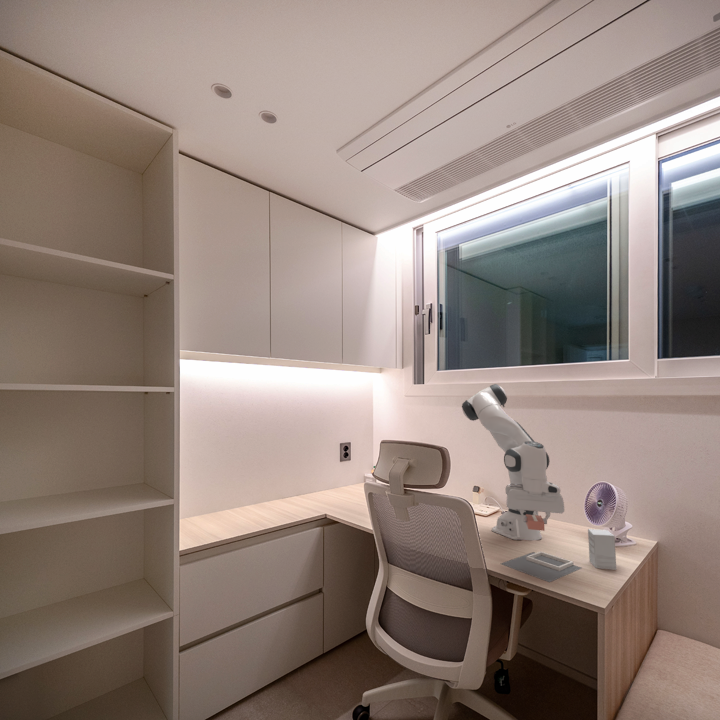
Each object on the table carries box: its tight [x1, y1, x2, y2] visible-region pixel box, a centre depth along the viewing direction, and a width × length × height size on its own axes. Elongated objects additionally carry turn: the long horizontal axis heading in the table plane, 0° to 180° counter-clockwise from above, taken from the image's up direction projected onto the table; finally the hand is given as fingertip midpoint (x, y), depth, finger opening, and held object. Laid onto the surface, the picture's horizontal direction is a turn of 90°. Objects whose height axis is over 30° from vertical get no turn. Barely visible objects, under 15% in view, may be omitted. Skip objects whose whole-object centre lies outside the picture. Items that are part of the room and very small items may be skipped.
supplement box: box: [587, 528, 617, 571], centre depth 160 cm, size 7×7×13 cm
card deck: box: [526, 514, 545, 532], centre depth 159 cm, size 9×6×3 cm, turn 164°
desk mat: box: [500, 551, 582, 583], centre depth 159 cm, size 20×22×1 cm
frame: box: [526, 551, 574, 571], centre depth 162 cm, size 13×10×1 cm
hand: (534, 522), depth 159 cm, fingers closed on card deck, 5 cm apart
